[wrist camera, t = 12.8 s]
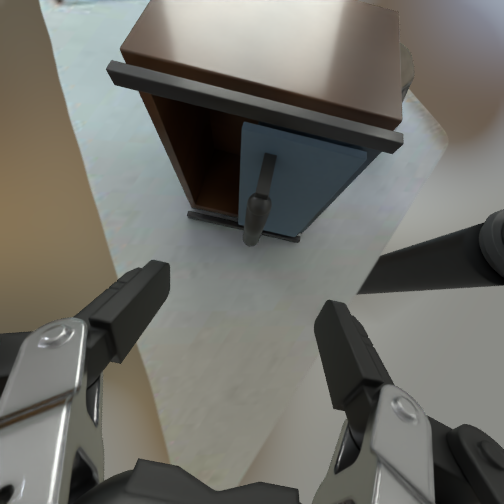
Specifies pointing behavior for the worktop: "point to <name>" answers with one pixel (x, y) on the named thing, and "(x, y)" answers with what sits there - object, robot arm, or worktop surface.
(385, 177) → the worktop surface
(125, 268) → the worktop surface
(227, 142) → the cupboard
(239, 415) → the worktop surface
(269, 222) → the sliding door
